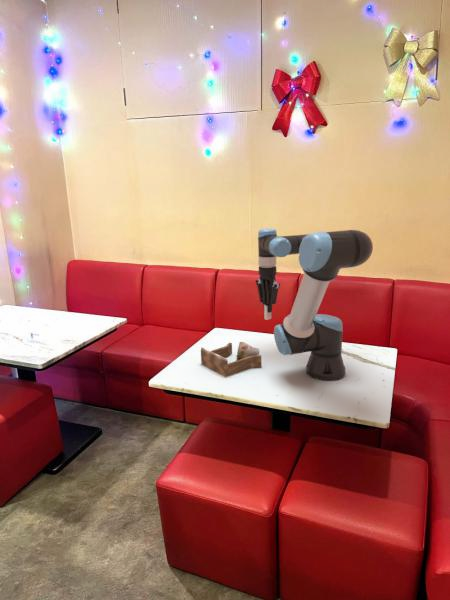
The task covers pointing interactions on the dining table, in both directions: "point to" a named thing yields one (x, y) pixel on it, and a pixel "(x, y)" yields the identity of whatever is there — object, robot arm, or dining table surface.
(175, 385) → the dining table surface
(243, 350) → the mottled brown rock
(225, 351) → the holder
